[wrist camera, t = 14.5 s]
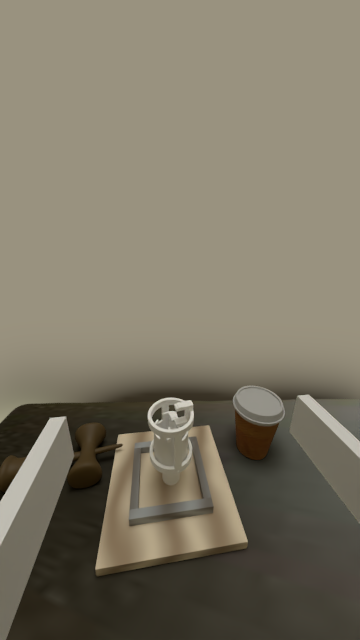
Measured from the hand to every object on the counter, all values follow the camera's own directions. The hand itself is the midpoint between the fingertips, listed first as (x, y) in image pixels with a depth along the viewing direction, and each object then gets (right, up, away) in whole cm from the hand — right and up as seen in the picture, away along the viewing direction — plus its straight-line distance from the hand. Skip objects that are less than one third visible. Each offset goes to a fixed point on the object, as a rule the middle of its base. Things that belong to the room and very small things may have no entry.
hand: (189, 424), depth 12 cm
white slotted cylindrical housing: (-2, -22, +25) cm, 33 cm away
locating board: (-3, -23, +25) cm, 34 cm away
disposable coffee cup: (+15, -21, +32) cm, 41 cm away
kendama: (-21, -22, +27) cm, 41 cm away
